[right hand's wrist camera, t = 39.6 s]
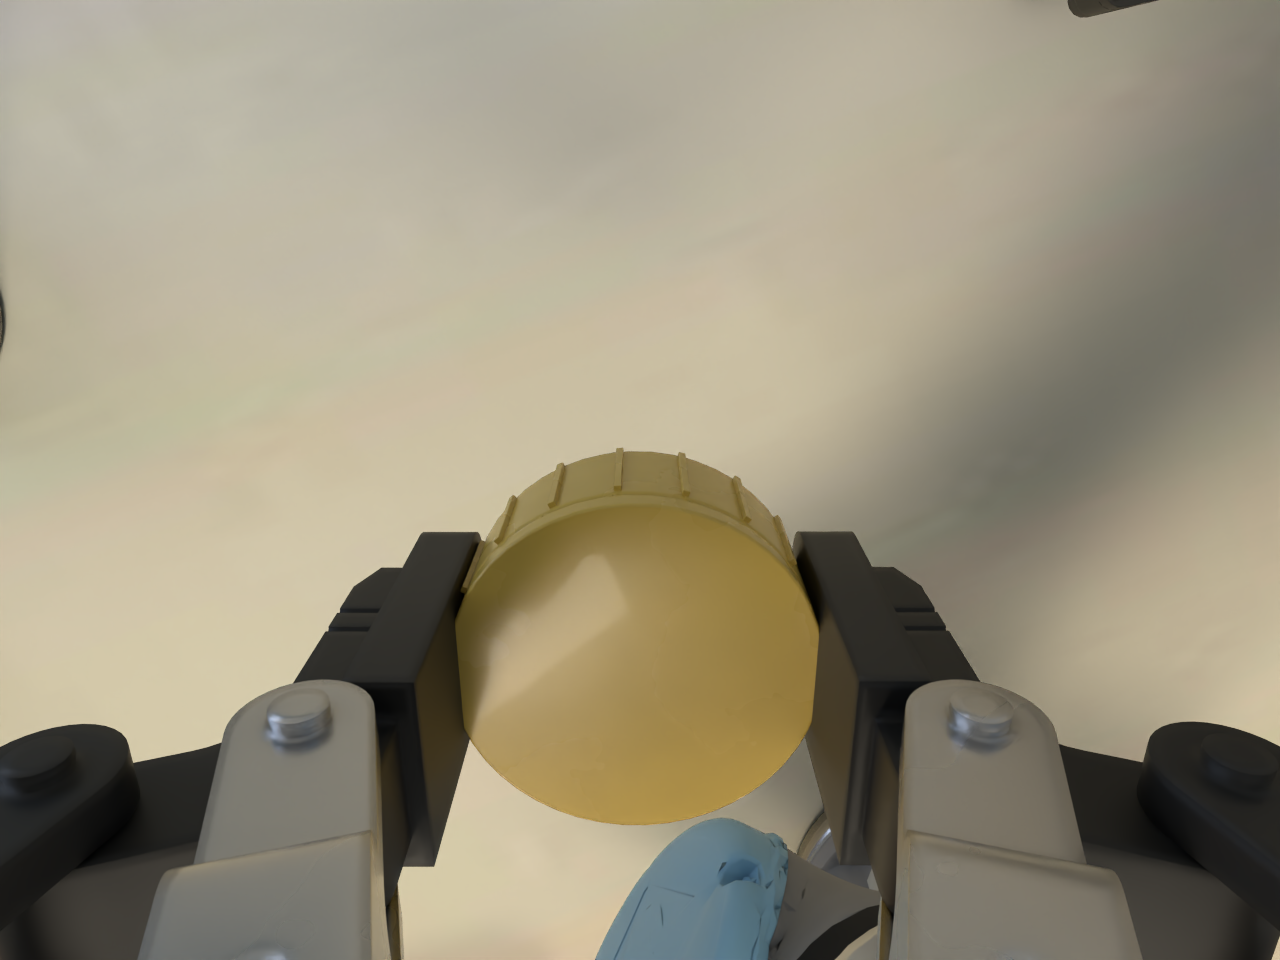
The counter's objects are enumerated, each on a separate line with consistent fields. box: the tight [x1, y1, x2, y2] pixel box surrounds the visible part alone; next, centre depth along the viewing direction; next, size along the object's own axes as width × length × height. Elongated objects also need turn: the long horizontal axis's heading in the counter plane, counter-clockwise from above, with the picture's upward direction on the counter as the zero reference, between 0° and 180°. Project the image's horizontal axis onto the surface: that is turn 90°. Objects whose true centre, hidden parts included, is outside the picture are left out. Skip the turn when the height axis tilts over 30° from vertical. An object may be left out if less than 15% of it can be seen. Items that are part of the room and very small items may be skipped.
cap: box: [455, 448, 819, 825], centre depth 11 cm, size 4×4×2 cm
